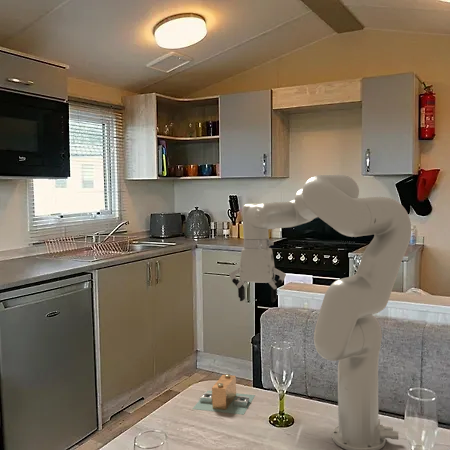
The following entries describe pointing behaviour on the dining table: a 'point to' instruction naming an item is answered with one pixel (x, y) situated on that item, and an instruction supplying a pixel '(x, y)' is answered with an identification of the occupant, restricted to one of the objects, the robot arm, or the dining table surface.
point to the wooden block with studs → (224, 392)
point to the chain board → (230, 409)
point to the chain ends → (239, 402)
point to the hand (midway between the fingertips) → (257, 300)
